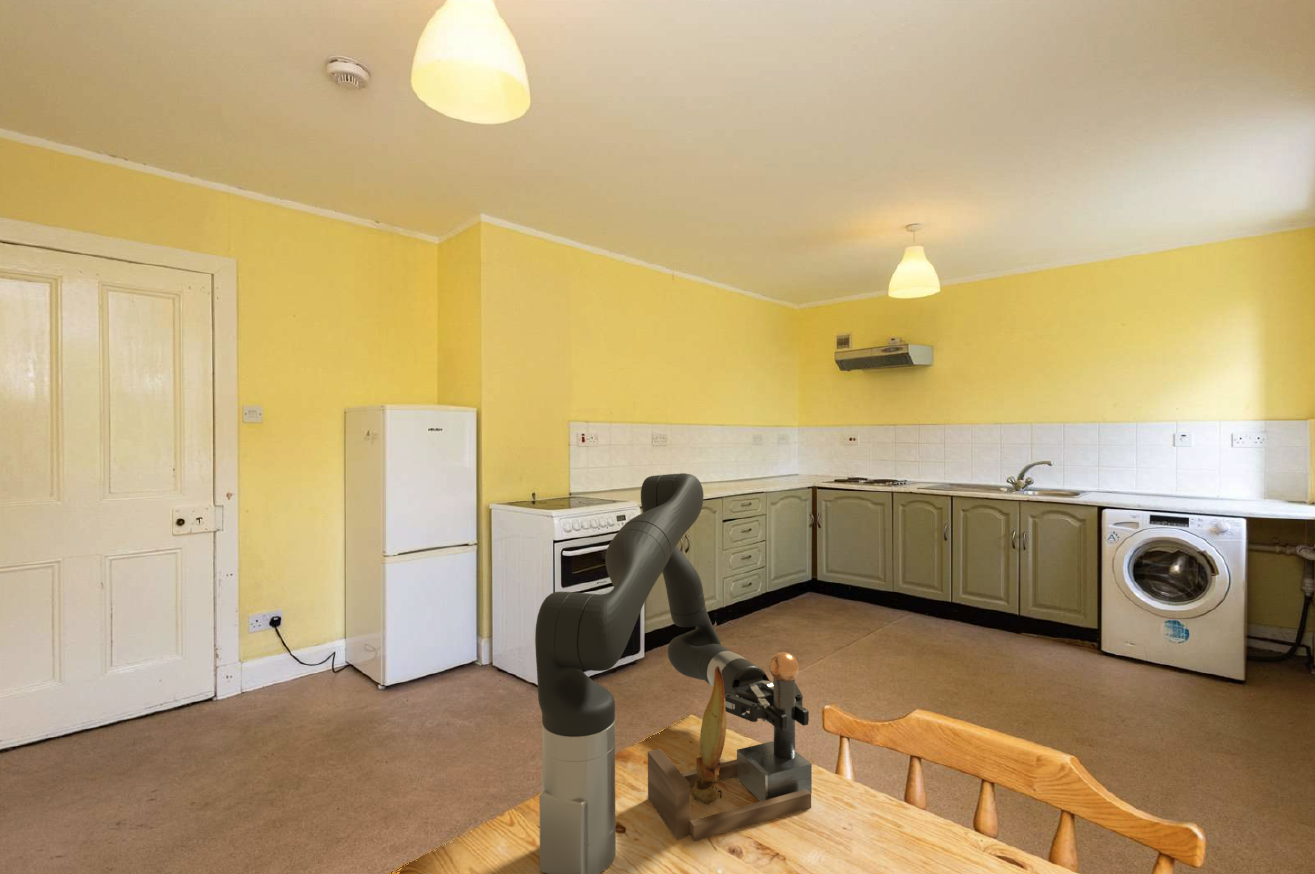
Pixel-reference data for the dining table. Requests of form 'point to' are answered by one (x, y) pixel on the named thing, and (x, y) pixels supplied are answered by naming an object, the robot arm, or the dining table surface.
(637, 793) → the dining table surface
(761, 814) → the frame
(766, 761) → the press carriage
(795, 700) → the robot arm
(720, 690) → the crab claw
